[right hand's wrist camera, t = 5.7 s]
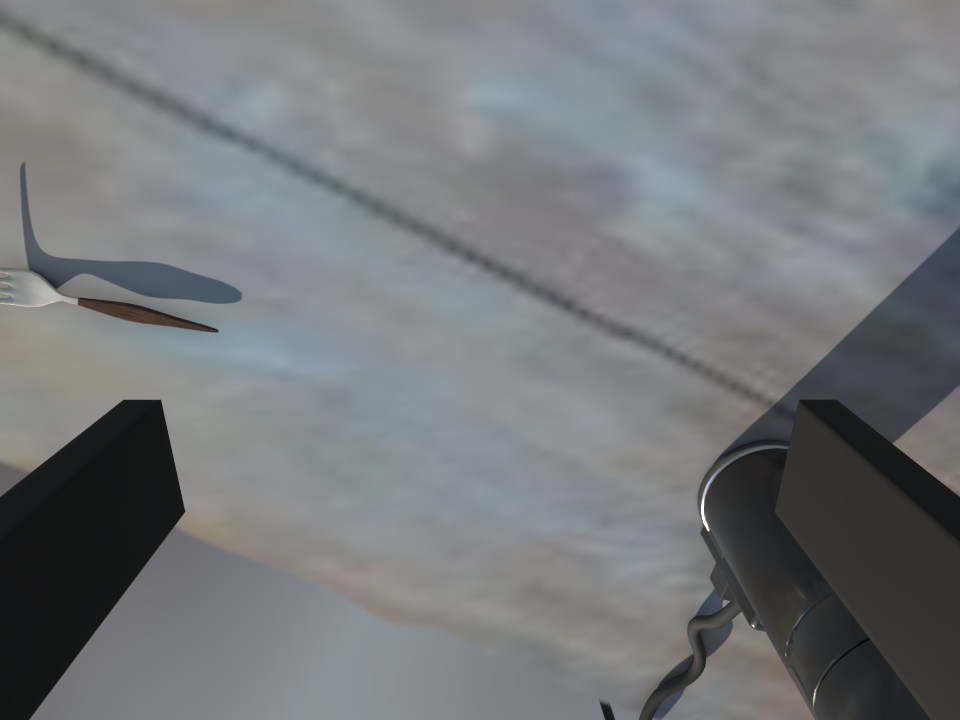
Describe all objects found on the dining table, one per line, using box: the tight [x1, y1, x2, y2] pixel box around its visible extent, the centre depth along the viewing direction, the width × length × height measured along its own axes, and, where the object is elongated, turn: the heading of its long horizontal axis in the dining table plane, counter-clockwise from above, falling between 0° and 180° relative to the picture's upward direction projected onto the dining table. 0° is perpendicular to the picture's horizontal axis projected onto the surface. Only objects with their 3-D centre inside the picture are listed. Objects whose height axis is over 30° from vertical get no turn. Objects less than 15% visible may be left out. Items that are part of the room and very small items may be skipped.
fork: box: [0, 268, 218, 333], centre depth 39 cm, size 3×16×2 cm, turn 77°
